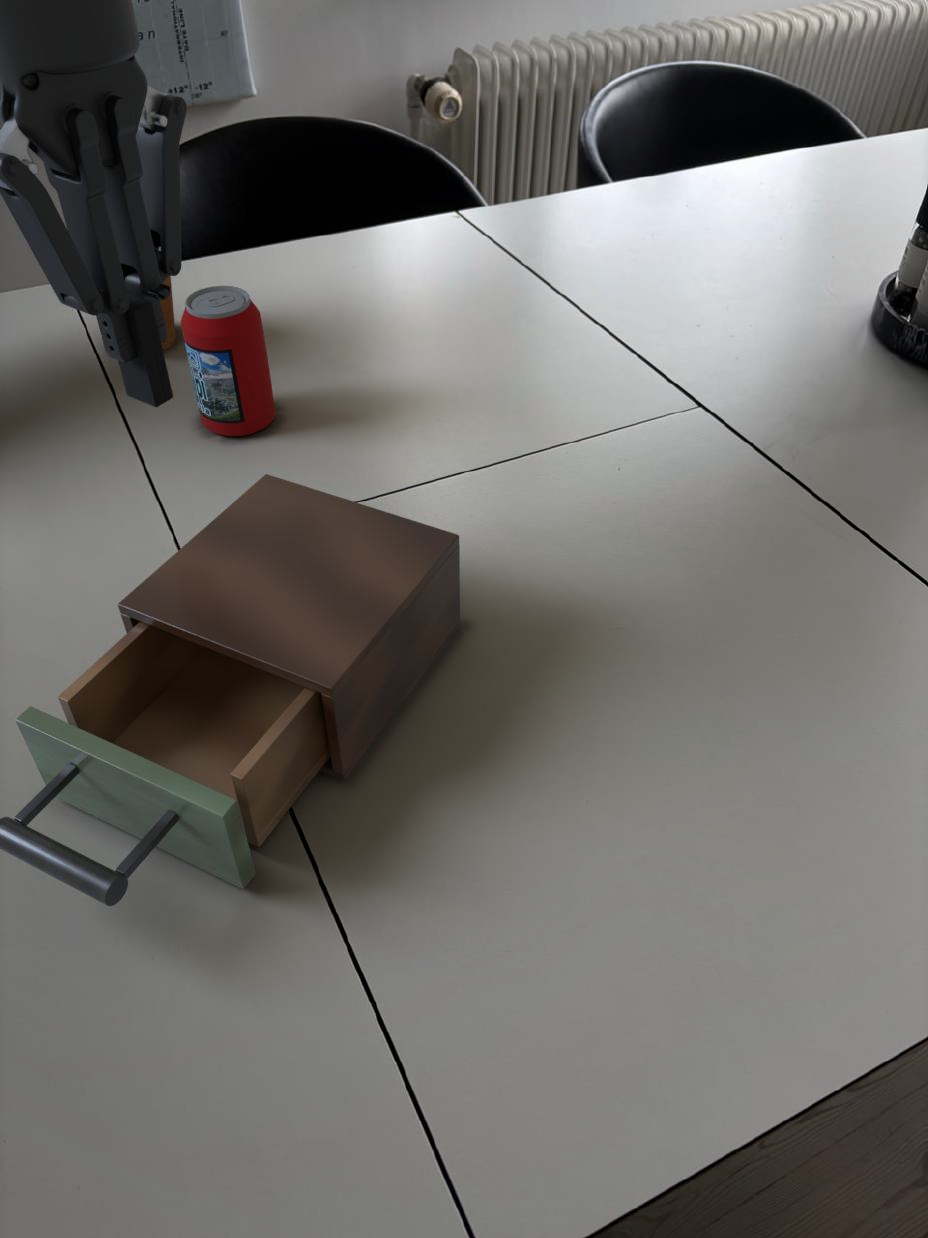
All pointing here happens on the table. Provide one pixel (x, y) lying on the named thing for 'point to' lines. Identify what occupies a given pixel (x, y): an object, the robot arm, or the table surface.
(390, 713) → the cabinet
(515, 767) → the table surface
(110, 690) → the drawer
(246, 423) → the beverage can
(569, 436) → the table surface
